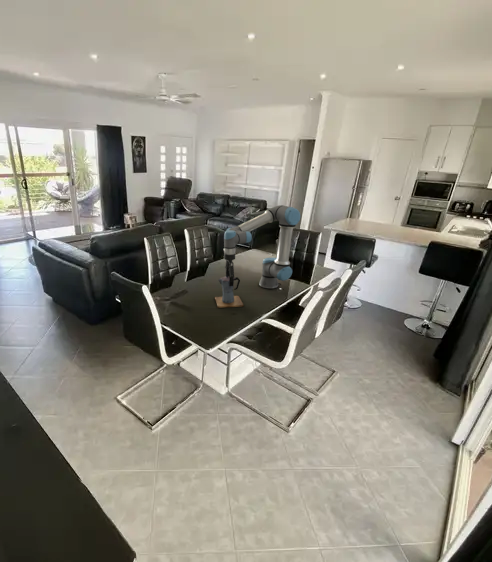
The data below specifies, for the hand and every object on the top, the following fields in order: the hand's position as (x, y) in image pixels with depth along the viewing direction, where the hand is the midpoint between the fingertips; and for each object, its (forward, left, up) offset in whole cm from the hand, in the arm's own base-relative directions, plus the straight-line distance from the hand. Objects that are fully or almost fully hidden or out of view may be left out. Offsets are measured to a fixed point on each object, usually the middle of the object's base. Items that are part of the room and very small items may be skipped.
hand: (229, 282), depth 227 cm
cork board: (0, 0, -16) cm, 16 cm away
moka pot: (0, 0, -15) cm, 15 cm away
